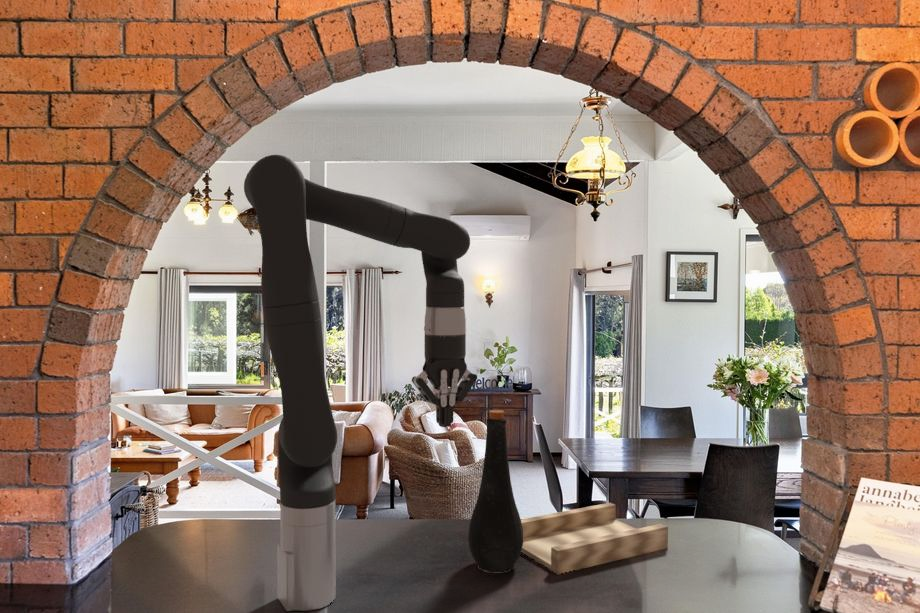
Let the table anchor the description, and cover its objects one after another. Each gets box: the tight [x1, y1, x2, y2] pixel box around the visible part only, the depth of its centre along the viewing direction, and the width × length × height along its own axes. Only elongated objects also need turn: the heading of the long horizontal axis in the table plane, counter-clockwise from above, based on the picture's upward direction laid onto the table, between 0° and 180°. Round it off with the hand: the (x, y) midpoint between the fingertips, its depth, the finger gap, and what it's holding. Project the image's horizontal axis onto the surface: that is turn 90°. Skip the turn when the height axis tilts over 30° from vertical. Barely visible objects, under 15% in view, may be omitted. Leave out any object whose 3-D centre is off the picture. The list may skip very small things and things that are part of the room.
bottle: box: [467, 409, 523, 572], centre depth 140 cm, size 11×11×30 cm
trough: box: [520, 502, 669, 575], centre depth 151 cm, size 28×18×4 cm, turn 119°
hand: (444, 426), depth 134 cm, fingers closed
